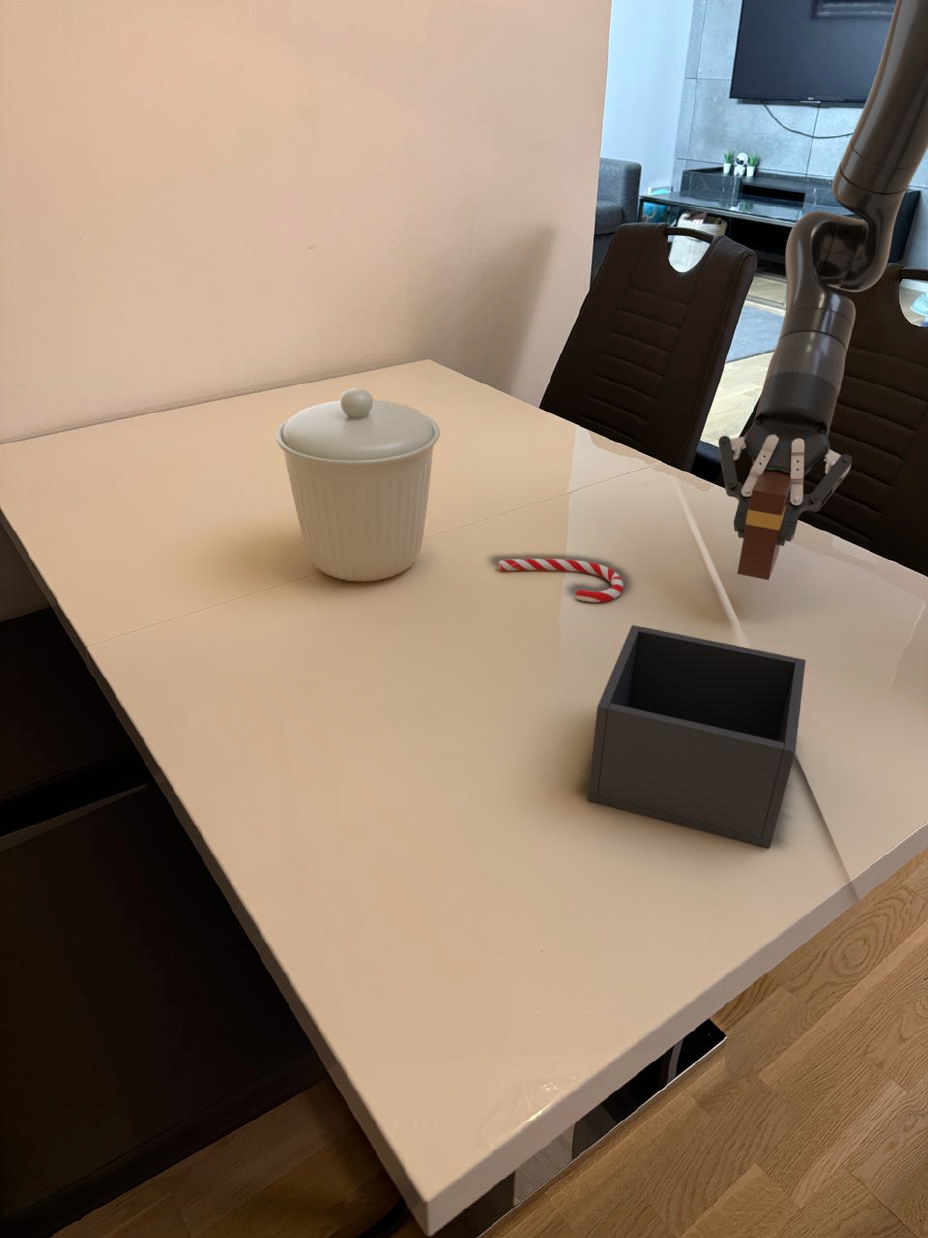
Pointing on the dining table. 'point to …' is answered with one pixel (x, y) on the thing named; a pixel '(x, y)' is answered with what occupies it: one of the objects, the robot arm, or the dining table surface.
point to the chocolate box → (764, 524)
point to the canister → (360, 483)
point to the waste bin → (697, 734)
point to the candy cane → (571, 566)
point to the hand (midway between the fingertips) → (761, 538)
